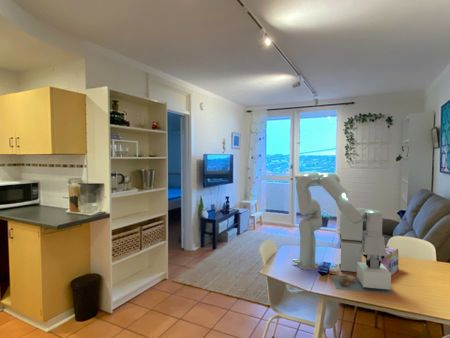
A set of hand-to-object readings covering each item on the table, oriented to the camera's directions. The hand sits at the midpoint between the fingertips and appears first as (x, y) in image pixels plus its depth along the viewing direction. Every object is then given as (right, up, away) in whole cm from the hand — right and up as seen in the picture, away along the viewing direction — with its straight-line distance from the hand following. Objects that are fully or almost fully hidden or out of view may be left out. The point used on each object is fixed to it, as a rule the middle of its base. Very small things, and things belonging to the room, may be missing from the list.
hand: (373, 266), depth 149 cm
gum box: (+16, -11, +18) cm, 27 cm away
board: (-6, -11, +2) cm, 13 cm away
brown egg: (-10, -10, +5) cm, 15 cm away
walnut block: (-15, -10, +1) cm, 18 cm away
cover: (0, -9, 0) cm, 9 cm away
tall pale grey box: (-3, -11, +22) cm, 24 cm away
